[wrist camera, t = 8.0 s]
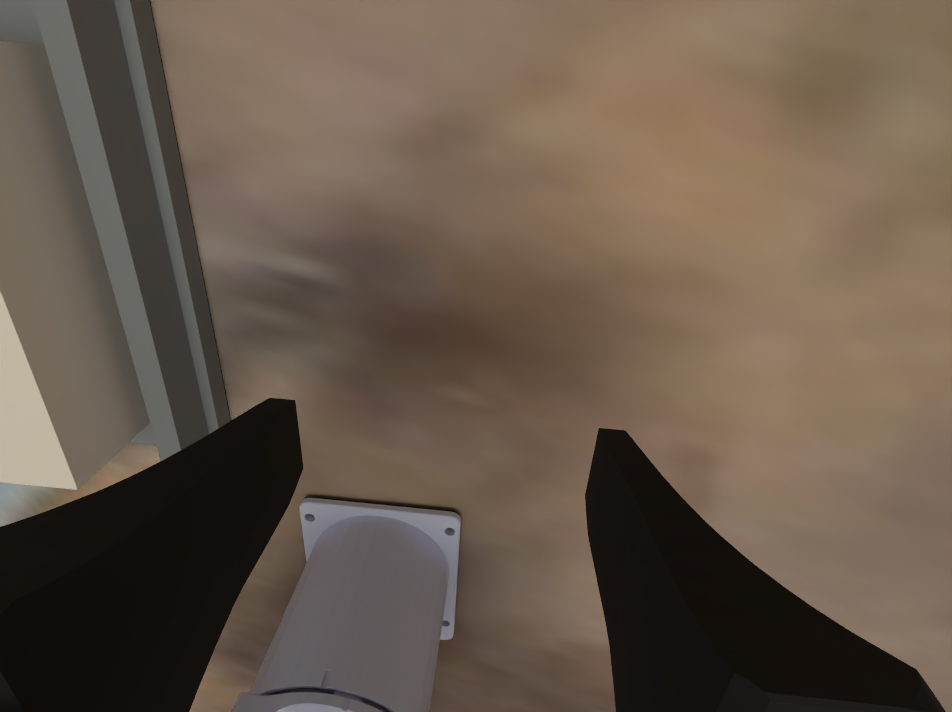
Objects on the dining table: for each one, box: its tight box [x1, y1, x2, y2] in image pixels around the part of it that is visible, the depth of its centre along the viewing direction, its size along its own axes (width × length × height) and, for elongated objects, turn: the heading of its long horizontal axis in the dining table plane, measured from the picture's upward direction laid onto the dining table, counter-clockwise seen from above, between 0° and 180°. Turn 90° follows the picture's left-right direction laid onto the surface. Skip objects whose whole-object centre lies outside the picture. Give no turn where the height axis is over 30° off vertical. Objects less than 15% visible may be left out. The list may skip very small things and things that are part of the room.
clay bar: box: [0, 41, 150, 490], centre depth 18 cm, size 14×3×5 cm, turn 177°
